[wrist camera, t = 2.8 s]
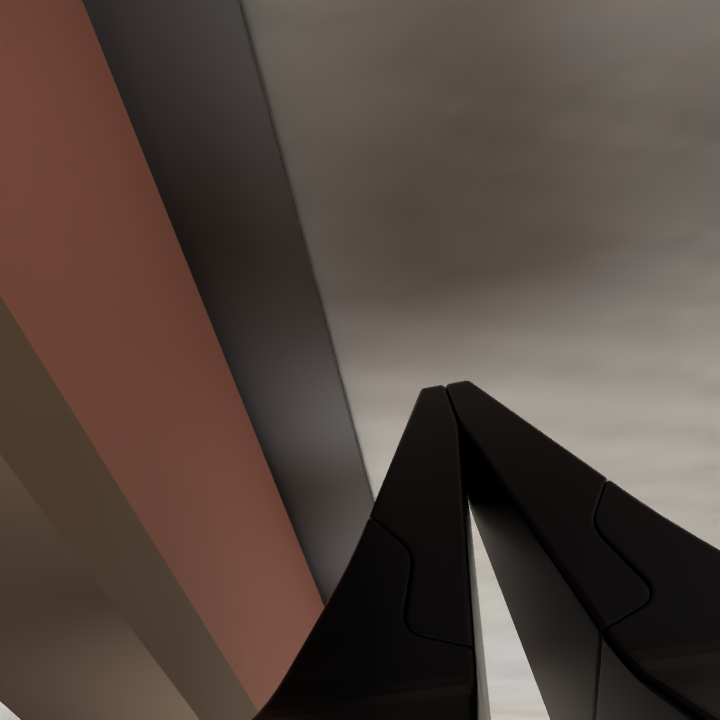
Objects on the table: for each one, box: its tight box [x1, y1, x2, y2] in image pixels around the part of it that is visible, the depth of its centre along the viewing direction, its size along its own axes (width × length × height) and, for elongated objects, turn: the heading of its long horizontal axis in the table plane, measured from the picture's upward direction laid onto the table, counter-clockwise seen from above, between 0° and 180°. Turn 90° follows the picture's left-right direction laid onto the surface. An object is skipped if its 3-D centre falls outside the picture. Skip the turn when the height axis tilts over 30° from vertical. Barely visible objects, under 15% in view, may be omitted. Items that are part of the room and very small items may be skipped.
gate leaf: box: [0, 0, 324, 720], centre depth 10 cm, size 20×2×6 cm, turn 12°
